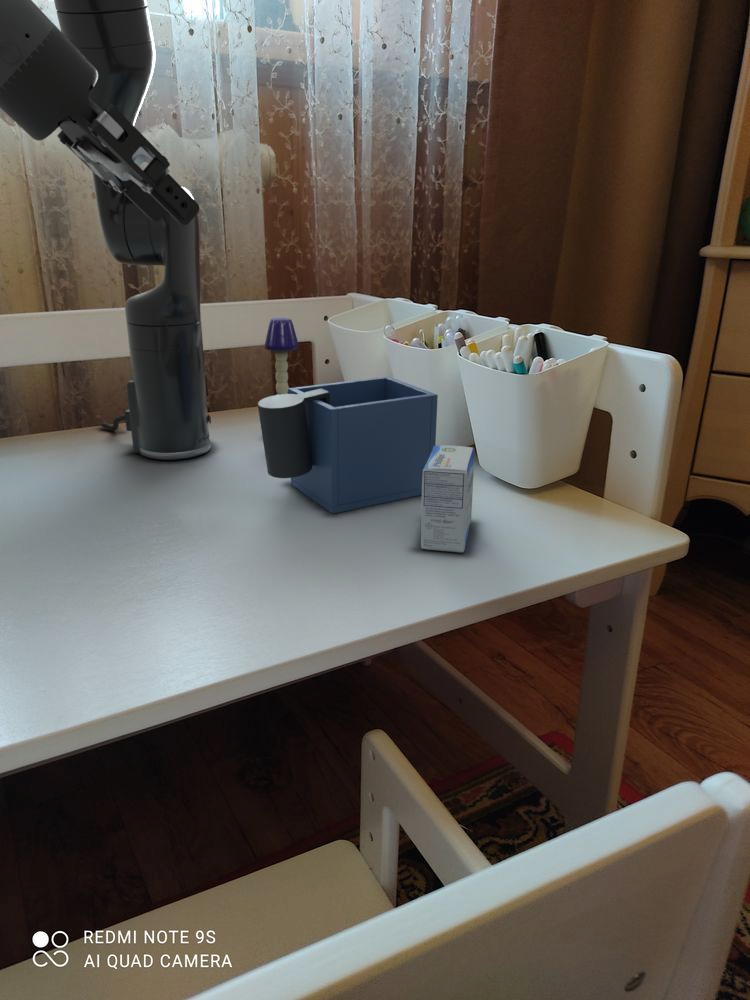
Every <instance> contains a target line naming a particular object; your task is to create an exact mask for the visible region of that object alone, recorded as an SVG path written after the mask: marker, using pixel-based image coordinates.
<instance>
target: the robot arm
mask: <svg viewBox="0 0 750 1000" xmlns="http://www.w3.org/2000/svg"><path fill="white" fill-rule="evenodd" d="M53 3H54V7H55V10H56V16H57V20H58V24H59V25H58V26H59V28H60V29H59V28H58V26H56V25H55V24H54V23H53V22H52V20H51V19H50V18H49V17H48V15H46V14H45V13H44V12H43V11H42V10H41V9H40V8H39V7H38V5H37V4H36V3H35V2H34V1H33V0H0V109H1V110H2V111H3V112H4V113H5V114H6V115H7V116H8V117H9V118H10V119H12V120H13V121H14V122H15V123H16V124H17V125H18V126H19V127H20V128H21V130H23V131H24V132H25V133H26V134H28V136H29V137H31V139H33V140H35V141H44V140H45V139H46V138H48V137H49V136H50V135H52V134H53V133H54V132H55V131H56V130H57V129H58V128H59V129H60V131H59V133H58V134H57V138H58V139H59V142H60V143H61V144H62V145H65V146H66V147H67V148H68V149H69V150H70V151H71V152H72V153H73V154H74V155H75V156H76V157H77V158H78V159H79V160H80V161H81V162H82V163H83V164H84V165H85V166H86V167H87V168H88V169H89V170H90V171H91V173H92V178H93V186H94V193H95V200H96V205H97V211H98V217H99V223H100V227H101V231H102V235H103V239H104V242H105V244H106V247H107V250H108V251H109V253H110V255H111V256H112V258H113V259H114V260H115V261H116V262H118V263H120V264H123V265H130V266H131V265H133V266H161V267H162V266H164V270H163V271H164V272H163V278H162V281H161V282H160V283H158V284H157V285H156V286H155V287H153V288H151V289H149V290H147V291H145V292H141V293H138V294H135V295H132V296H130V297H129V298H128V299H127V300H126V301H125V304H124V313H125V322H126V329H127V330H126V331H127V339H128V347H129V348H128V350H129V359H130V367H131V377H132V379H131V380H129V381H127V382H126V386H125V387H126V396H127V404H128V409H126V410H125V411H124V414H121V415H119V416H116V417H115V418H114V419H113V421H112V424H110V423H108V422H105V421H102V422H101V423H100V426H101V427H102V428H105V429H107V430H110V431H117V430H118V429H119V424H120V422H123V421H125V429H126V431H127V432H131V433H130V434H131V441H132V442H131V443H132V449H133V450H132V451H133V453H134V454H140V455H142V456H144V457H146V458H149V459H155V460H162V461H163V460H164V461H166V460H167V461H170V460H171V461H172V460H184V459H190V458H194V457H198V456H201V455H203V454H206V453H207V452H208V451H210V449H211V447H212V446H211V439H210V427H209V424H210V425H212V417H211V416H210V415H209V413H208V411H209V410H208V399H207V397H208V396H207V384H206V371H205V369H206V368H205V355H204V342H203V341H204V340H203V327H202V313H201V303H202V285H201V255H200V254H201V253H200V252H201V250H200V249H201V248H200V247H201V245H200V243H201V242H200V238H201V236H200V221H199V212H200V205H199V203H198V202H197V201H196V200H195V198H194V196H193V195H192V193H191V192H190V191H189V189H187V188H186V187H183V186H181V185H180V184H179V183H178V182H177V181H176V180H175V178H174V177H172V176H171V174H170V169H169V168H170V166H171V163H170V162H169V161H168V158H167V157H166V156H164V155H163V154H162V153H161V152H160V151H159V150H158V149H157V148H156V147H155V146H154V145H153V143H151V142H150V141H149V140H148V139H147V138H146V136H144V135H143V134H142V133H141V132H140V131H139V129H138V128H136V127H135V125H136V124H135V123H136V122H137V121H136V120H137V118H138V116H139V112H140V110H141V108H142V105H143V103H144V100H145V97H146V95H147V92H148V89H149V87H150V83H151V80H152V78H153V74H154V71H155V66H156V47H155V41H154V35H153V29H152V23H151V18H150V11H149V7H148V0H53ZM143 163H147V165H146V166H145V168H144V169H142V168H141V167H140V166H141V165H142V164H143Z"/></svg>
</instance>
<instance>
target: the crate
mask: <svg viewBox="0 0 750 1000" xmlns="http://www.w3.org/2000/svg"><path fill="white" fill-rule="evenodd" d="M288 388H289V389H288V392H287V393H288V394H300V393H304V392H308V391H312V390H316V389H324V390H326V391H328V392H329V393H330V403H331V405H329V404H326V403H324V402H322V401H320V400H319V399H317V400H313V401H309V402H305V410H306V418H307V426H308V434H309V443H310V451H311V459H312V469H311V471H309V472H308V473H306V474H304V475H301V476H298V477H293V478H290V485H291V486H293V487H294V488H296V489H297V490H298V491H299V492H301V493H303V494H304V495H305V496H306V497H308V498H309V499H311V500H312V501H314V502H315V503H316V504H318V505H319V506H320V507H322V508H323V509H324V510H326V511H327V512H328V513H330V514H331V515H335V514H338V513H342V512H343V513H344V512H347V511H352V510H356V509H361V508H366V507H370V506H371V507H372V506H376V505H379V504H380V505H381V504H385V503H390V502H394V501H399V500H404V499H408V498H412V497H417V496H422V475H423V469H424V468H425V466H426V464H427V461H428V459H429V457H430V455H431V453H432V450H433V448H434V446H436V443H437V442H436V441H437V422H438V421H437V420H438V416H437V415H438V400H439V399H438V397H439V396H438V394H437V393H434V392H431V391H429V390H426V389H423V388H421V387H417V386H415V385H413V384H411V383H407V382H404V381H402V380H399V379H397V378H394V377H391V376H388V375H386V376H379V377H371V378H363V379H354V380H346V381H345V380H344V381H338V382H330V383H320V384H313V385H304V386H297V387H288Z"/></svg>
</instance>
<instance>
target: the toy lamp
mask: <svg viewBox="0 0 750 1000" xmlns="http://www.w3.org/2000/svg"><path fill="white" fill-rule="evenodd" d="M264 349H265V350H267V351H272V352H274V357H275V363H274V367H275V371H276V372H275V380H276V382H275V383H276V384H275V390H276V395H280V394H288V389H289V388H290V387H289V383H288V380H289V373H288V368H289V363H288V361H287V360H288V357H289V352H290V351H292V352H293V351H296V350H298V349H299V341H298V337H297V334H296V330H295V325H294V323H293V320H292V319H291V318H287V317H275V318H274V317H273V318H271V319H270V320H269V323H268V328H267V332H266V336H265V341H264Z"/></svg>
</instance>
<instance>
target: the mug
mask: <svg viewBox="0 0 750 1000" xmlns="http://www.w3.org/2000/svg"><path fill="white" fill-rule="evenodd" d="M317 399H319V400H320V401H322V402H324V403H326V404H329V405H331V403H330V393H329V392H328V391H326V390H324V389H316V390H312V391H308V392H304V393H300V394H280V395H277V394H275V395H270V396H266V397H264V398H262V399H260V400H259V401H258V402H257V409H258V415H259V423H260V429H261V436H262V444H263V450H264V456H265V463H266V470H267V474H268V475H269V476H270V477H273V478H277V479H291V478H293V477H298V476H301V475H304V474H306V473H308V472H309V471H311V469H312V459H311V451H310V443H309V434H308V426H307V418H306V410H305V402H309V401H313V400H317Z"/></svg>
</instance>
